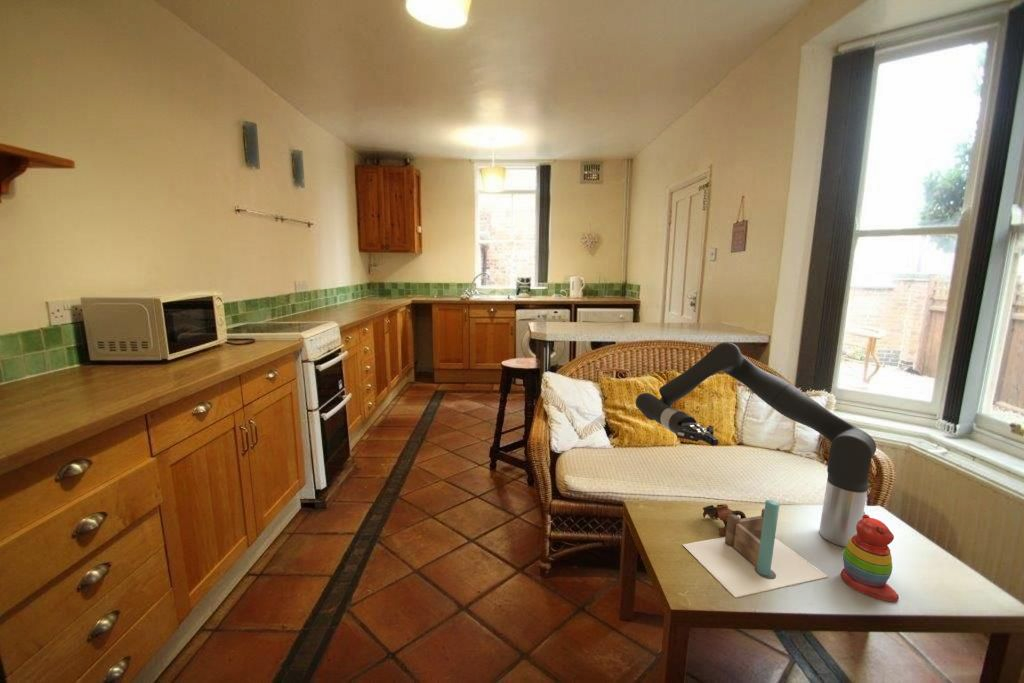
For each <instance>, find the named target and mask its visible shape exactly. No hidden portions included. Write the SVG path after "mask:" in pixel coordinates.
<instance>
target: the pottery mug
mask: <svg viewBox="0 0 1024 683" xmlns="http://www.w3.org/2000/svg"><path fill="white" fill-rule="evenodd" d="M702 510H703V513H702V516H703V518H704V519H705V518H706V516H707V515H708V517H709V518H710V519H712V520H713V519H715V518H717V519H719V520H720V521H721V522H722V523H723V524H724V527H718V530H717V531H718V532H719V536H720V535H721V537H726V528H727V519H728V515H729V514H734V515H736V516H739V518H740V519H743V518H747V515H746V514H745V513H744V512H743V511H742V510H738V509H737V510H731V509H730V508H729V506H728V504H726V503H724V504H722V503H721V504H716V506H714V505H707V506H704V507H702Z"/></svg>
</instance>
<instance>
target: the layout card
mask: <svg viewBox="0 0 1024 683" xmlns="http://www.w3.org/2000/svg"><path fill="white" fill-rule="evenodd" d="M725 537H726V536H721V537H717V538H711V539H706V540H705V539H704V540H699V541H694V542H689V543H688V542H687V543H683V544H682V545H683V546H684V547H685V548H686V549H687V550H688V551H689V552H690V553H691V554H692V555H693V556H694V557H695V558H696V559H697V560H698V561H697V562H699V564H700V565H701V566H702V567H704V568H705V570H706V571H708V573H709V574H711V575H712V577H714V578H715V580H717V581H718V582H719V584H720V585H722V586H723V587H724V588H725V589H726V590H727V591H728V592H729V593H730V594H731V595H732V596H733V598H734V599H736V598H741V597H745V596H752V595H755V594H760V593H764V592H770V591H773V590H778V589H782V588H787V587H790V586H795V585H800V584H804V583H809V582H813V581H818V580H823V579H828V578H829V576H828V575H827V574H826V573H824V572H823V571H822V570H820V569H819V568H818V567H816V566H814V565H813V564H812V563H810V562H809V561H808V560H806V559H805V558H803V557H802V556H801V555H800V554H798V553H797V552H796V551H794V550H793V549H791V548H790V547H788V546H787V545H786V544H784V543H783V542H781V541H780V540H779V539H778V538H776V537H775V541H774V548H773V556H772V563H771V570H770V575H767V576H766V575H762V574H760V573H759V572H758V571H757V567H756V566H755V565H753V564H752V563H751V562H750V561H749V560H748V559H747V558H746V557H745V556H744V555H742V554H741V553H740V552H739V551H738V550H737V549H736V548H735V547H730V546H728V545H726V544H725ZM760 540H761V539H760ZM683 546H682V547H683ZM684 547H683V548H684ZM685 548H684V549H685ZM686 549H685V550H686ZM687 550H686V551H687ZM688 551H687V552H688ZM689 552H688V553H689ZM690 553H689V554H690ZM691 554H690V555H691ZM692 555H691V556H692ZM693 556H692V557H693ZM694 557H693V558H694ZM696 559H695V560H696Z"/></svg>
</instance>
